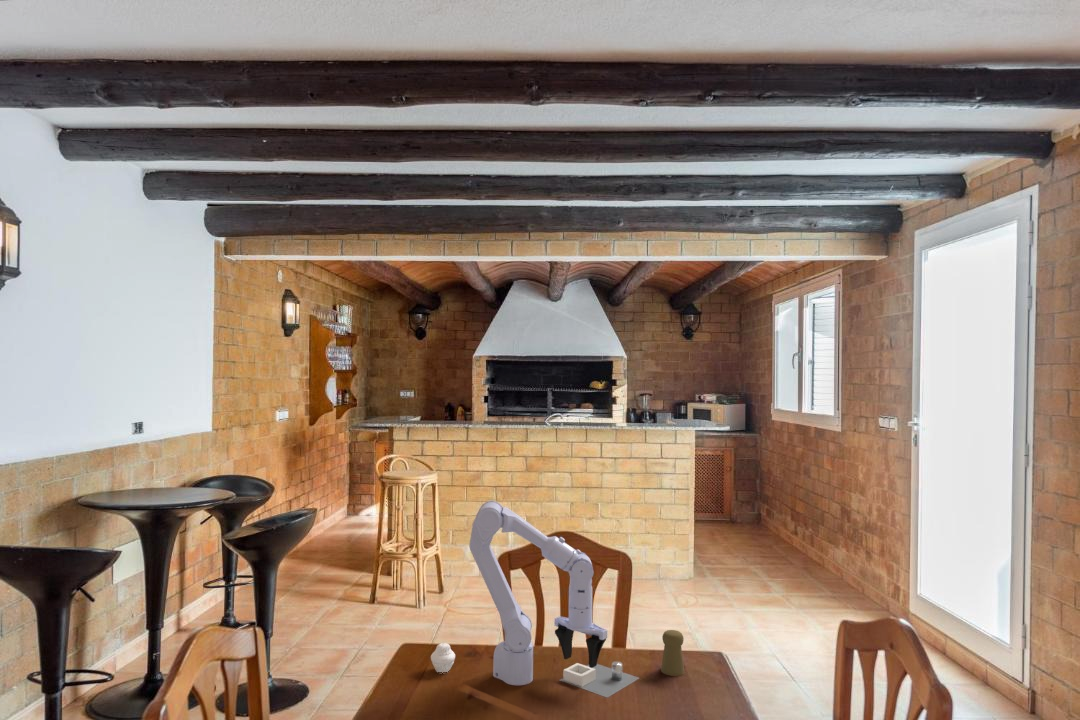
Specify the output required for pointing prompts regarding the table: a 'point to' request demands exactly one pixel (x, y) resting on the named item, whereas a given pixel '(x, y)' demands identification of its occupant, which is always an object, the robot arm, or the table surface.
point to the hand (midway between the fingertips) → (580, 662)
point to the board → (606, 682)
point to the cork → (672, 653)
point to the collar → (579, 674)
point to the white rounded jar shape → (443, 658)
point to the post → (617, 671)
